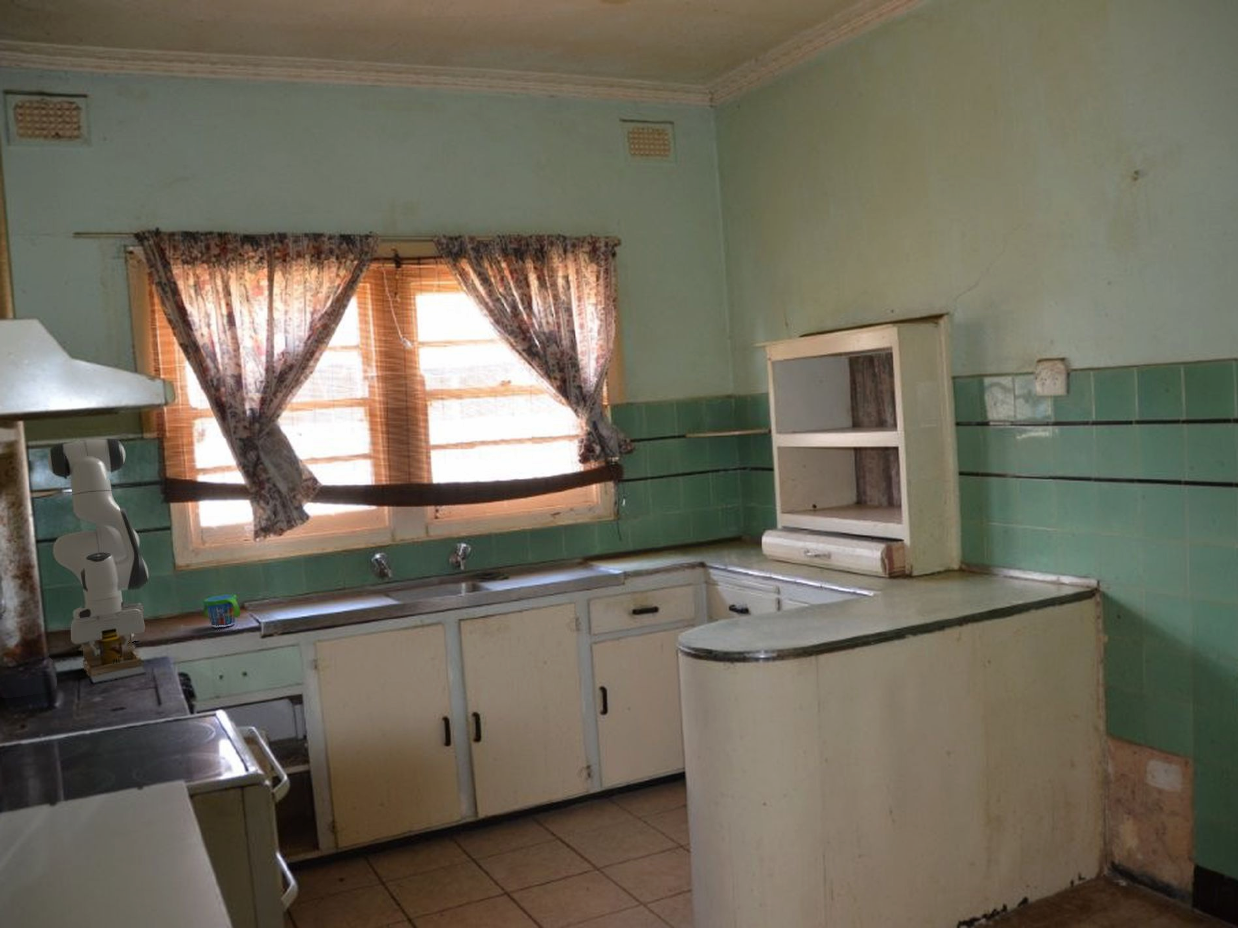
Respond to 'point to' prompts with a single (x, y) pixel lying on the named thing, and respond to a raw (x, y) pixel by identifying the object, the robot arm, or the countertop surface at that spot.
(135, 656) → the carton
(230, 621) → the snack cup
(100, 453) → the robot arm
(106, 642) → the condiment
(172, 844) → the countertop surface
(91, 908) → the countertop surface
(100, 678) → the mat
